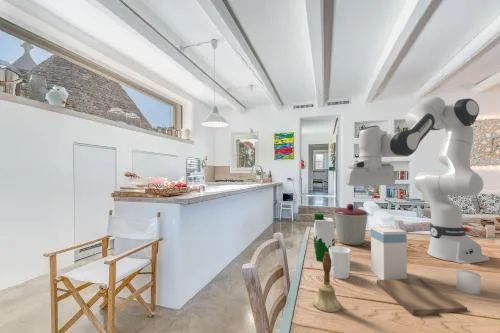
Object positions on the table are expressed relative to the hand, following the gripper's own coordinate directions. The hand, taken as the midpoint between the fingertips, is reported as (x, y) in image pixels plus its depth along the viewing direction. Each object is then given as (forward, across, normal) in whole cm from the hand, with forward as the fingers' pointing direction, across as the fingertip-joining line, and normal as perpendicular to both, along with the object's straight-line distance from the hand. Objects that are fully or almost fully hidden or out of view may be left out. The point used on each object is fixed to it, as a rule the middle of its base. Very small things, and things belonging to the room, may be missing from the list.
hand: (370, 195), depth 105 cm
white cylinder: (+29, -19, +25) cm, 43 cm away
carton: (+29, 0, +12) cm, 31 cm away
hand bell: (+29, +30, +29) cm, 51 cm away
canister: (+29, -4, -28) cm, 41 cm away
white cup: (+29, +18, +10) cm, 36 cm away
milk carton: (+29, +18, -7) cm, 35 cm away
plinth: (+29, 0, +27) cm, 40 cm away
